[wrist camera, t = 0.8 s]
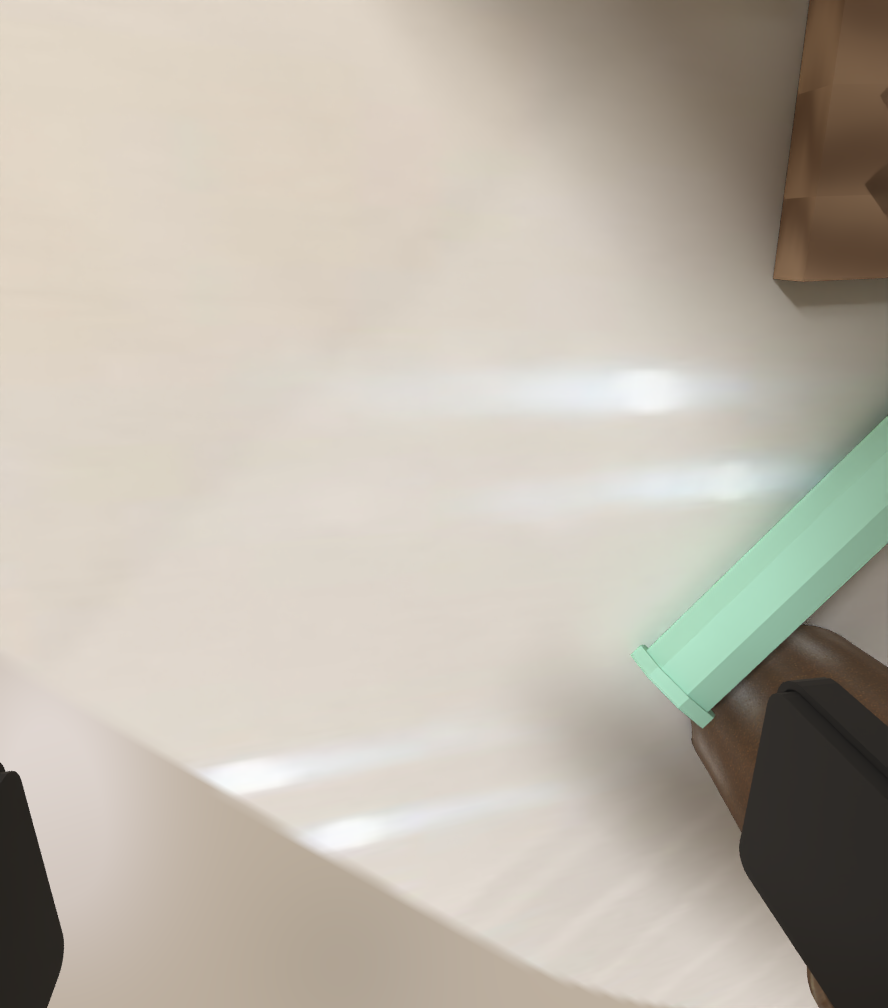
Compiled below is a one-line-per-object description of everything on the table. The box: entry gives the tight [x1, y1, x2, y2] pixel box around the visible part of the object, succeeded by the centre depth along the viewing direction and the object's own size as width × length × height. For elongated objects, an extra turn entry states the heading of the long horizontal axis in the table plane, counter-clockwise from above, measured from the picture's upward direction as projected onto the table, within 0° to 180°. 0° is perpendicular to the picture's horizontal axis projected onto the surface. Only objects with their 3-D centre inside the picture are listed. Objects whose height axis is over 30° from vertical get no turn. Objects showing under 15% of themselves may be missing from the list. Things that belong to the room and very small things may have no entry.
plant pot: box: [691, 625, 888, 1008], centre depth 39 cm, size 16×16×16 cm
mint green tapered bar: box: [631, 416, 888, 729], centre depth 39 cm, size 6×6×25 cm
